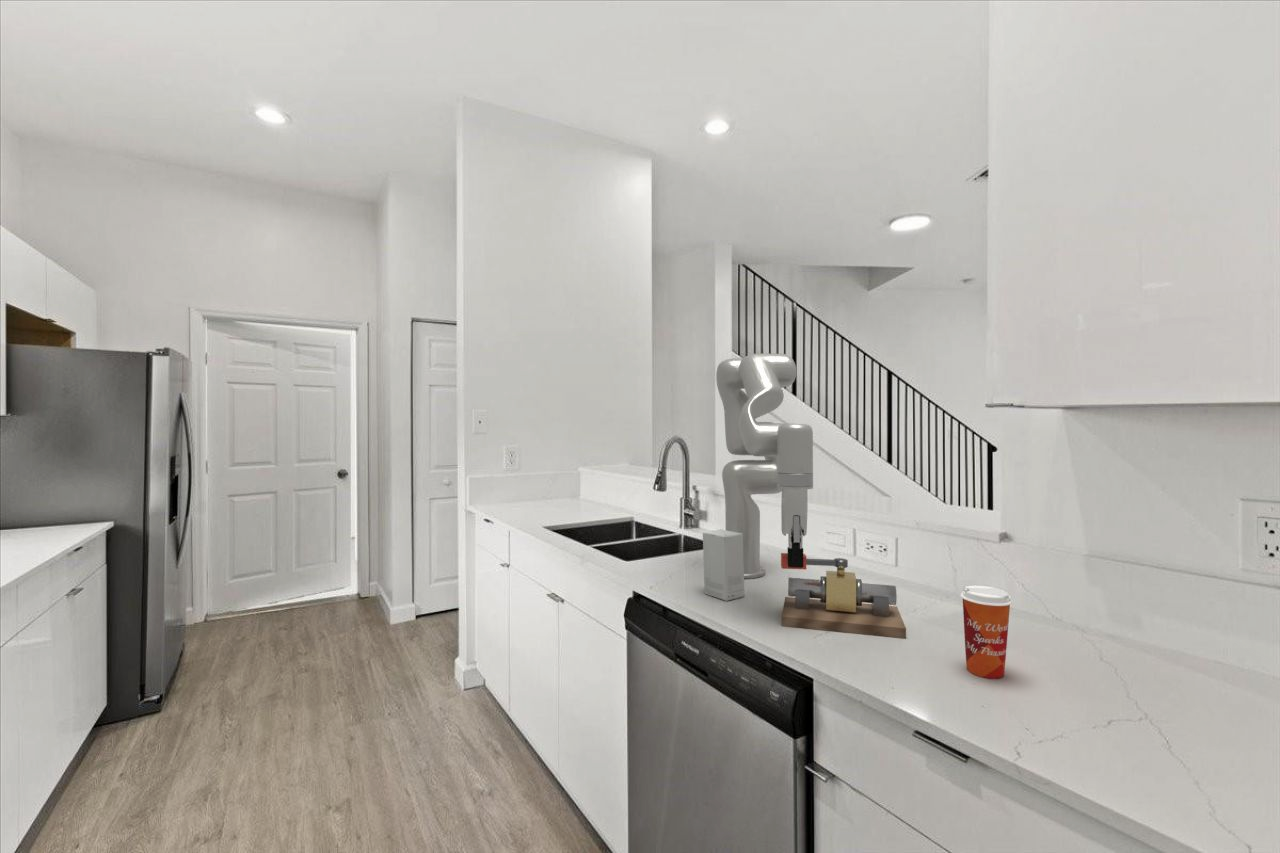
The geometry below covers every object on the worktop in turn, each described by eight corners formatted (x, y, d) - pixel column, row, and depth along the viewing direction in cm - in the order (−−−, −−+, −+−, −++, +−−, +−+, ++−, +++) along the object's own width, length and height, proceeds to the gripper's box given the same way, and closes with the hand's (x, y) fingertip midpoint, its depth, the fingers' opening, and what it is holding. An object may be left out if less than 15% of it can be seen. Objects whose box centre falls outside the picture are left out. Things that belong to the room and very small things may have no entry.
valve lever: (846, 568, 129) (846, 555, 129) (848, 571, 127) (848, 558, 127) (780, 565, 132) (780, 552, 132) (781, 568, 129) (781, 555, 129)
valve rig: (781, 625, 124) (781, 573, 124) (785, 605, 137) (785, 558, 137) (905, 638, 117) (906, 583, 117) (896, 615, 130) (897, 565, 130)
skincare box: (745, 597, 143) (745, 533, 143) (724, 602, 140) (725, 536, 139) (721, 589, 150) (721, 528, 150) (701, 593, 147) (701, 530, 146)
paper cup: (963, 677, 100) (964, 595, 99) (956, 659, 107) (957, 582, 106) (1017, 684, 97) (1018, 600, 97) (1006, 666, 104) (1007, 587, 104)
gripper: (776, 478, 135) (776, 558, 135) (778, 484, 120) (778, 574, 120) (810, 478, 134) (810, 560, 133) (816, 484, 119) (817, 575, 119)
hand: (795, 566), depth 127 cm, fingers closed
